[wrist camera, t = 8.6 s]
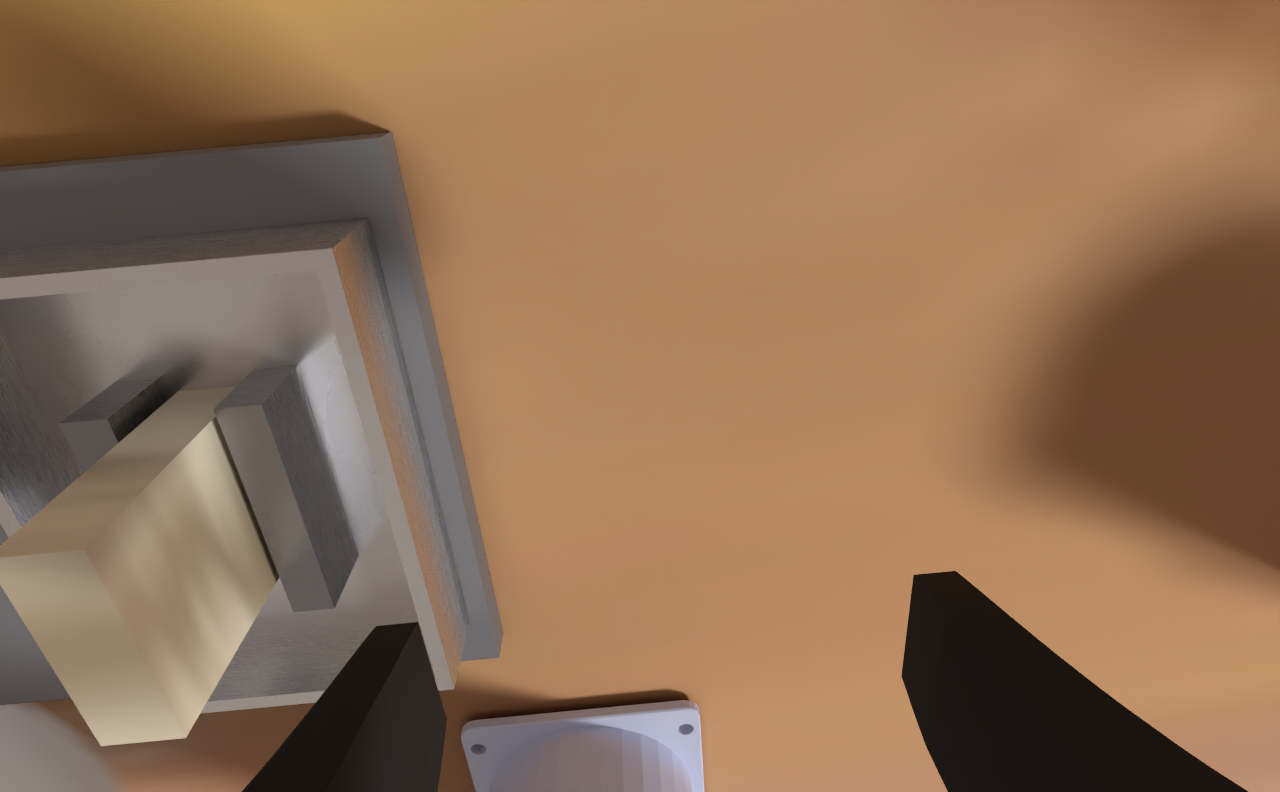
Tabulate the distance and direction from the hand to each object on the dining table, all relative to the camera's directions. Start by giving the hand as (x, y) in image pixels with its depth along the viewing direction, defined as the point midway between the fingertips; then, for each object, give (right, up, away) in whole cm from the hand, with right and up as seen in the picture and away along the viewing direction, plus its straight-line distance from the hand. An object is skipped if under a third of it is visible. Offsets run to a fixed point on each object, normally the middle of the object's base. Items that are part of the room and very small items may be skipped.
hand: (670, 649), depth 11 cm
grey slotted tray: (-10, +2, +8) cm, 13 cm away
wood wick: (-10, +2, +7) cm, 13 cm away
